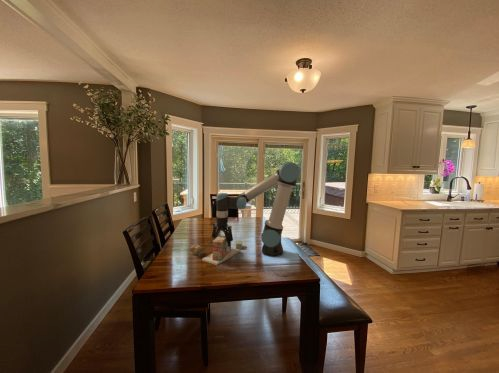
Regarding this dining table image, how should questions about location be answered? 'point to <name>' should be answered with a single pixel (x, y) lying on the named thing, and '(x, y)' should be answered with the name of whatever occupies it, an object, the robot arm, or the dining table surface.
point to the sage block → (239, 245)
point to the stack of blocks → (219, 248)
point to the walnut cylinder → (201, 251)
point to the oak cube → (194, 250)
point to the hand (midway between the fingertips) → (222, 249)
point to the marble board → (228, 255)
